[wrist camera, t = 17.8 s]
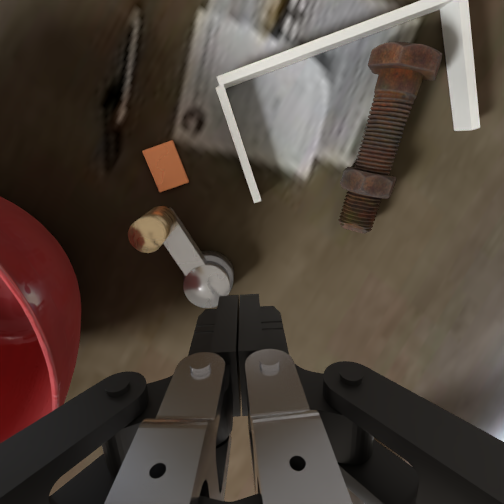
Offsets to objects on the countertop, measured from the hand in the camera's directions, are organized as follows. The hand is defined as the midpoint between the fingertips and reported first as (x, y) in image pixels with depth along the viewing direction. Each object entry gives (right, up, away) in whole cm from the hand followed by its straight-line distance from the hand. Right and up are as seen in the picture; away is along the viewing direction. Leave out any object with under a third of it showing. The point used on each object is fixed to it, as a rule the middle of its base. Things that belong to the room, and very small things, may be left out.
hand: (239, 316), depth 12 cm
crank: (-5, +2, +19) cm, 20 cm away
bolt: (+11, +13, +19) cm, 25 cm away
